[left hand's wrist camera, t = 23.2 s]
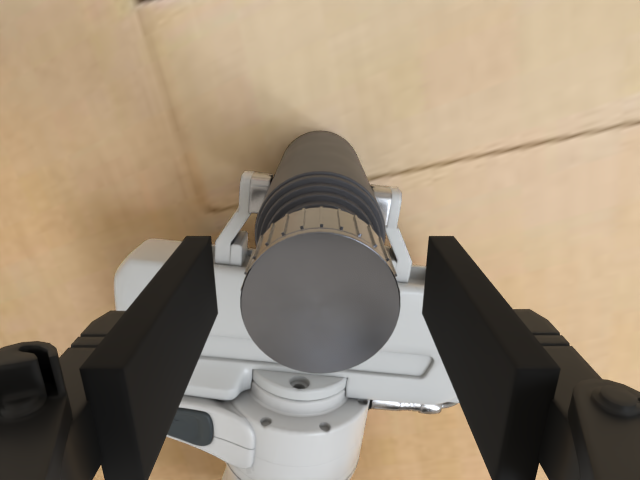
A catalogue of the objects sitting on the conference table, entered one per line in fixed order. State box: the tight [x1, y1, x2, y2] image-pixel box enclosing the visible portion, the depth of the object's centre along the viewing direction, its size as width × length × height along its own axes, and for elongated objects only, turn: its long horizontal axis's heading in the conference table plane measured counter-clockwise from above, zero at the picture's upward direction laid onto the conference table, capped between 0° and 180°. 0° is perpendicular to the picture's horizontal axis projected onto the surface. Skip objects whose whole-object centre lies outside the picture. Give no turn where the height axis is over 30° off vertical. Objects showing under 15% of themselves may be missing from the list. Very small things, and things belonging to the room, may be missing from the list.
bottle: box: [255, 131, 386, 246], centre depth 21 cm, size 5×5×17 cm
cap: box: [240, 206, 401, 374], centre depth 13 cm, size 4×4×2 cm
